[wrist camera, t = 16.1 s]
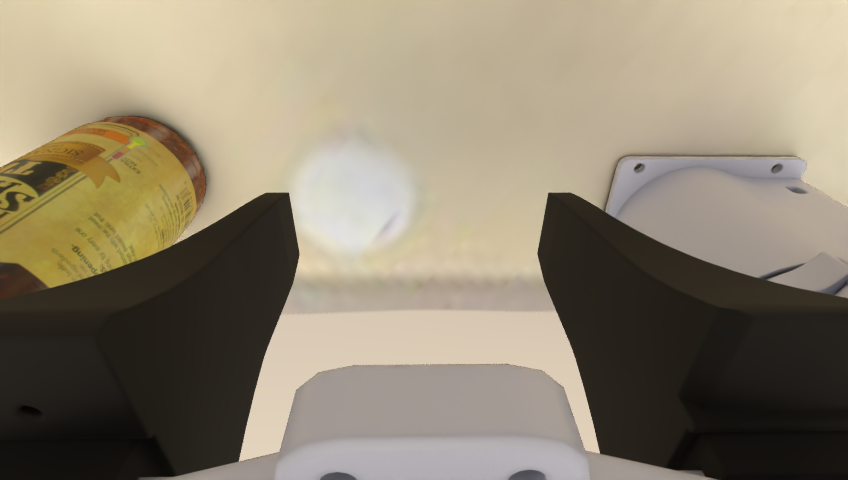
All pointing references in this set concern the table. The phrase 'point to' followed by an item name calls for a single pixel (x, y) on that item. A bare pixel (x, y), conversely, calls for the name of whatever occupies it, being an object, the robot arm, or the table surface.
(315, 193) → the table surface
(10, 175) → the sauce bottle
